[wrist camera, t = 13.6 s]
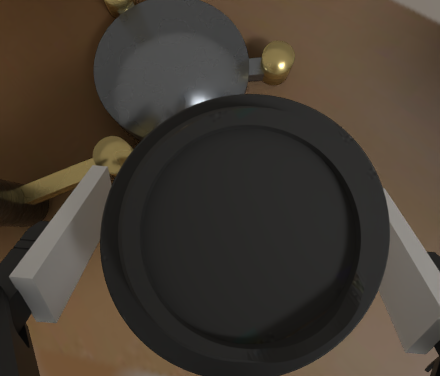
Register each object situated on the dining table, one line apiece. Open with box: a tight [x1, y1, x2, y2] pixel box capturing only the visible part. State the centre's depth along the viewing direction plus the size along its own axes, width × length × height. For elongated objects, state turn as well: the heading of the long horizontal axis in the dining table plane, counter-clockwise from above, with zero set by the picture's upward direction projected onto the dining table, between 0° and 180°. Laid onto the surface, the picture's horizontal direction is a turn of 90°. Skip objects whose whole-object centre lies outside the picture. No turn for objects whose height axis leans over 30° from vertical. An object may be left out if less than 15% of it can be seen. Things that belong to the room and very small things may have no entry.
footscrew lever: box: [0, 136, 134, 226], centre depth 17 cm, size 11×3×10 cm, turn 113°
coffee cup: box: [100, 94, 390, 376], centre depth 15 cm, size 9×9×15 cm
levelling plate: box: [94, 0, 295, 141], centre depth 23 cm, size 16×12×2 cm
